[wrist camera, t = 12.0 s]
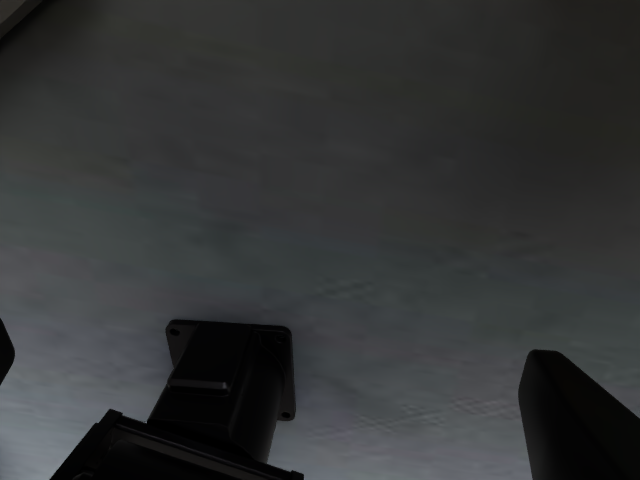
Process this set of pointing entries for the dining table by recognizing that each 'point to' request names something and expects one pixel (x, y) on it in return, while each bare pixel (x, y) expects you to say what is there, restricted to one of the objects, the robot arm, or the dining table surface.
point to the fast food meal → (14, 13)
